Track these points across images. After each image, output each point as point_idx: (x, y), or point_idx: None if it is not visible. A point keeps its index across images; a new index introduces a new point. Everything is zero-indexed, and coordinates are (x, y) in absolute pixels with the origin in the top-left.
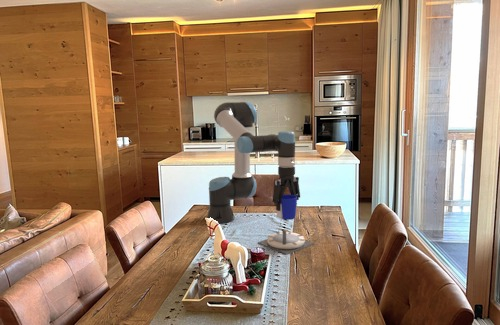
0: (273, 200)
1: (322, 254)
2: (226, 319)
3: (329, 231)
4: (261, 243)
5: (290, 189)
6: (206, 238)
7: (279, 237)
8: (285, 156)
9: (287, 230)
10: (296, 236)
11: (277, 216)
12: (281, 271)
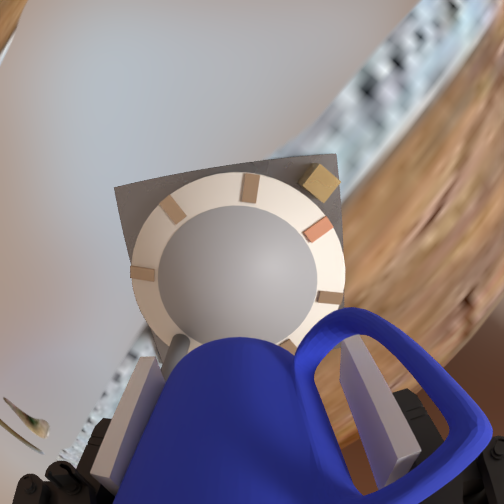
0: (26, 497)
1: None
2: (6, 429)
3: (489, 258)
4: (119, 214)
5: None
6: (6, 39)
7: (210, 258)
8: None
9: (330, 192)
10: (305, 298)
11: (140, 365)
12: (102, 418)
